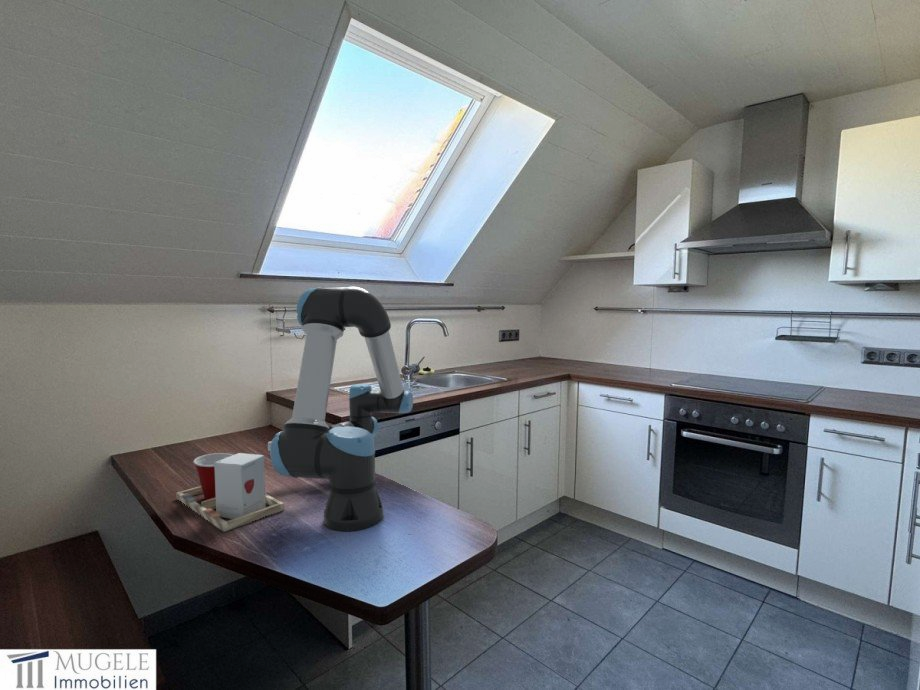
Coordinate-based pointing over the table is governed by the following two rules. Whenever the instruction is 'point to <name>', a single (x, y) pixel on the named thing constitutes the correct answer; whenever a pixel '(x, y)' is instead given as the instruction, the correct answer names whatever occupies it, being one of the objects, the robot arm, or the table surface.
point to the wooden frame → (213, 517)
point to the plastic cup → (208, 472)
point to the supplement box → (239, 485)
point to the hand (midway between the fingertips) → (281, 450)
